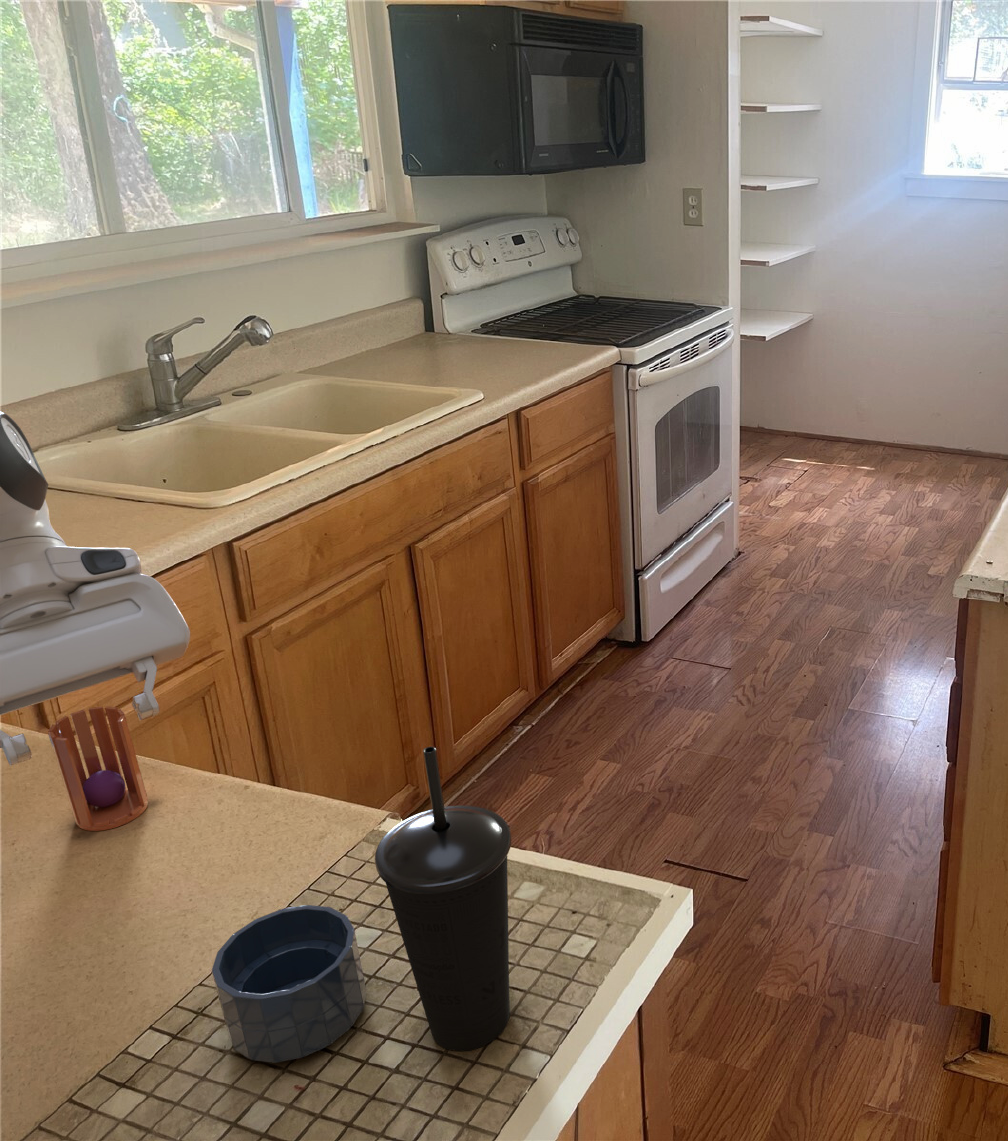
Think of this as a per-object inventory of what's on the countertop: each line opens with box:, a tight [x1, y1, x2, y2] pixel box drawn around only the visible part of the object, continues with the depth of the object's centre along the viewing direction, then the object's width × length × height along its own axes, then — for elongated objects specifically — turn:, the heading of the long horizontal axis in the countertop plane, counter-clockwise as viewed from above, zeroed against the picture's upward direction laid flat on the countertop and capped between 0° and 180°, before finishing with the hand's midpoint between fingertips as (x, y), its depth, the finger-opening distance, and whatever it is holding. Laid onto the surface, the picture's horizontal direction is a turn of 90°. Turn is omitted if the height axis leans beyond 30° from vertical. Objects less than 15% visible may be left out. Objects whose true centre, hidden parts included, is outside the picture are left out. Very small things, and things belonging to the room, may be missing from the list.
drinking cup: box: [374, 746, 512, 1052], centre depth 63 cm, size 8×8×20 cm
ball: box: [83, 769, 126, 807], centre depth 88 cm, size 3×3×3 cm
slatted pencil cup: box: [47, 706, 149, 832], centre depth 87 cm, size 5×5×8 cm
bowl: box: [211, 904, 367, 1064], centre depth 67 cm, size 8×8×6 cm
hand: (88, 737), depth 87 cm, fingers open, 8 cm apart
